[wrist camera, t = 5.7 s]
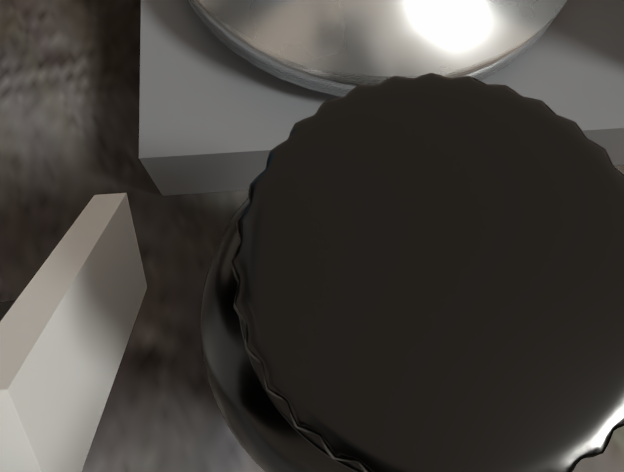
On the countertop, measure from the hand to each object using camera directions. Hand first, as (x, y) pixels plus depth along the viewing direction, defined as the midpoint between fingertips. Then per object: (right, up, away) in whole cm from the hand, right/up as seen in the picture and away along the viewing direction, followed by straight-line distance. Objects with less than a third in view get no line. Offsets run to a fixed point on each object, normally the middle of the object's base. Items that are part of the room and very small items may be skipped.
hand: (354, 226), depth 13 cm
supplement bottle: (0, -4, +4) cm, 6 cm away
